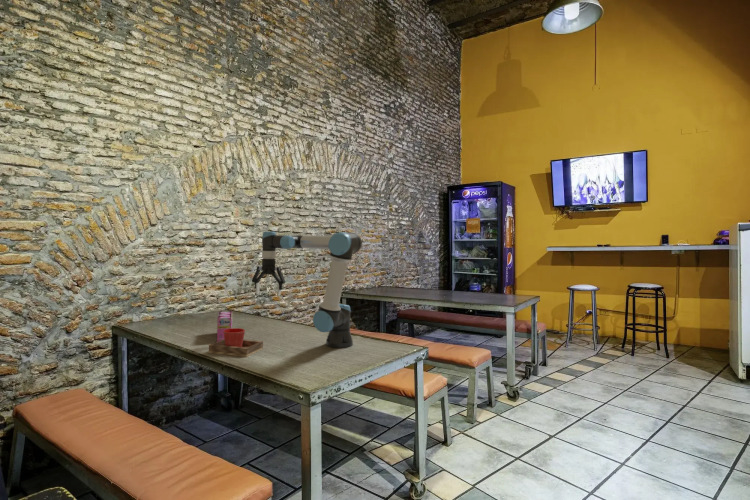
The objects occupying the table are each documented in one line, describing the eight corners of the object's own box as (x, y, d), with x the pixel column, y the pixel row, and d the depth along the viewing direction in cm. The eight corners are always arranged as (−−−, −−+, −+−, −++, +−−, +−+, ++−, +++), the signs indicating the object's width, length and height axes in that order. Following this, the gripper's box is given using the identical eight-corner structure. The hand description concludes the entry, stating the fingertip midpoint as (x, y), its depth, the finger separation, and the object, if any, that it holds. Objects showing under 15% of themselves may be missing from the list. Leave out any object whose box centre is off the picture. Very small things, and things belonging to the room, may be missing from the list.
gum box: (219, 332, 261) (219, 310, 261) (232, 331, 264) (232, 310, 263) (216, 341, 238) (217, 318, 238) (231, 341, 241) (231, 317, 240)
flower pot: (238, 344, 229) (238, 327, 229) (248, 348, 222) (248, 330, 222) (219, 348, 222) (219, 329, 222) (229, 352, 214) (229, 333, 214)
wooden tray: (262, 348, 226) (263, 341, 226) (246, 356, 211) (246, 348, 210) (227, 345, 232) (227, 337, 231) (208, 352, 216) (208, 345, 216)
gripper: (291, 258, 242) (290, 295, 243) (252, 257, 248) (252, 292, 249) (285, 259, 235) (285, 297, 235) (245, 257, 241) (245, 294, 242)
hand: (268, 294), depth 242 cm, fingers open, 13 cm apart
